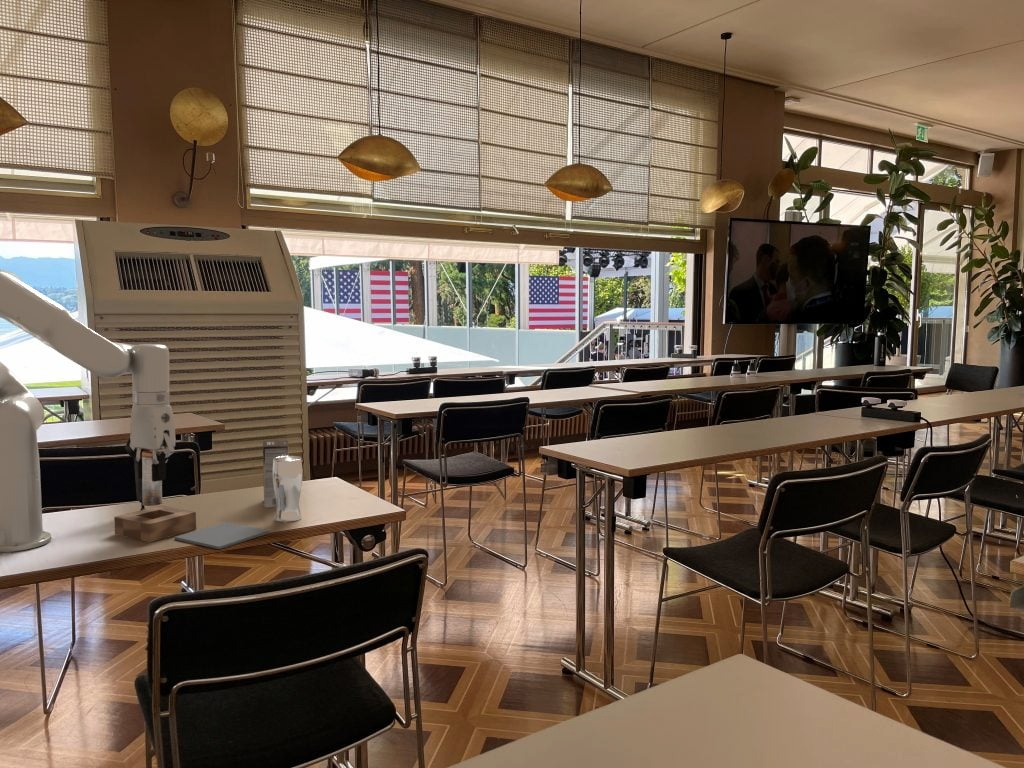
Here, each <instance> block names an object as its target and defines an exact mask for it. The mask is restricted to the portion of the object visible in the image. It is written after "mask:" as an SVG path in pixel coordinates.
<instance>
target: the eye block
mask: <svg viewBox="0 0 1024 768" xmlns="http://www.w3.org/2000/svg"><path fill="white" fill-rule="evenodd" d="M196 516H197V512H196V511H194V510H193V511H192V510H188V509H182V508H176V507H173V506H172V507H171V506H166V505H162V504H160V505H156V506H153V507H149V508H145V509H144V510H137V511H133V512H129V513H125V514H120V515H116V516H114V519H113V520H114V534H115V535H116V536H117V535H118V536H121V537H126V538H130V539H135V540H139V541H143V542H148V543H152V542H155V541H159V540H163V539H166V538H169V537H173V536H177V535H181V534H182V533H183V534H185V533H186V532H187V533H188V532H191V531H195V530H196V529H197V517H196Z"/></svg>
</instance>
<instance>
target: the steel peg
mask: <svg viewBox="0 0 1024 768" xmlns="http://www.w3.org/2000/svg"><path fill="white" fill-rule="evenodd" d="M160 454H161V452H158V456H159V455H160ZM152 464H154V461H153V453H152V450H147V451H142V498H143V505H144V506H145V507H146V506H147V507H151V506H153V507H156V506H161V505H162V504H163V486H162V485H163V480H161V481H156V482H154V481H152Z"/></svg>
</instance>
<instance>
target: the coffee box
mask: <svg viewBox="0 0 1024 768" xmlns="http://www.w3.org/2000/svg"><path fill="white" fill-rule="evenodd" d="M289 454H290V453H289V442H288V440H287V439H285V440H278V439H276V440H275V439H273V440H263V441H262V466H263V467H262V469H263V470H262V472H263V473H262V476H263V499H264V500H263V501H264V502H263V503H264V505H263V506H264V508H267V509H268V508H277V502H276V496H275V491H274V486H273V459H274V458H276V457H281V456H290V455H289Z"/></svg>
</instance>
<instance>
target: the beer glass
mask: <svg viewBox="0 0 1024 768" xmlns="http://www.w3.org/2000/svg"><path fill="white" fill-rule="evenodd" d="M273 486H274V491H275V496H276V502H277V507H276V511H275V516H274V518H275V521H276V522H279V523H291V522H297V521H300V520H301V519H302V513H301V510H300V508H301V507H300V500H301V499H300V498H301V492H302V486H303V464H302V457H301V456H299V455H297V456H296V455H289V456H281V457H276V458H274V459H273ZM299 519H300V520H299Z"/></svg>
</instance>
